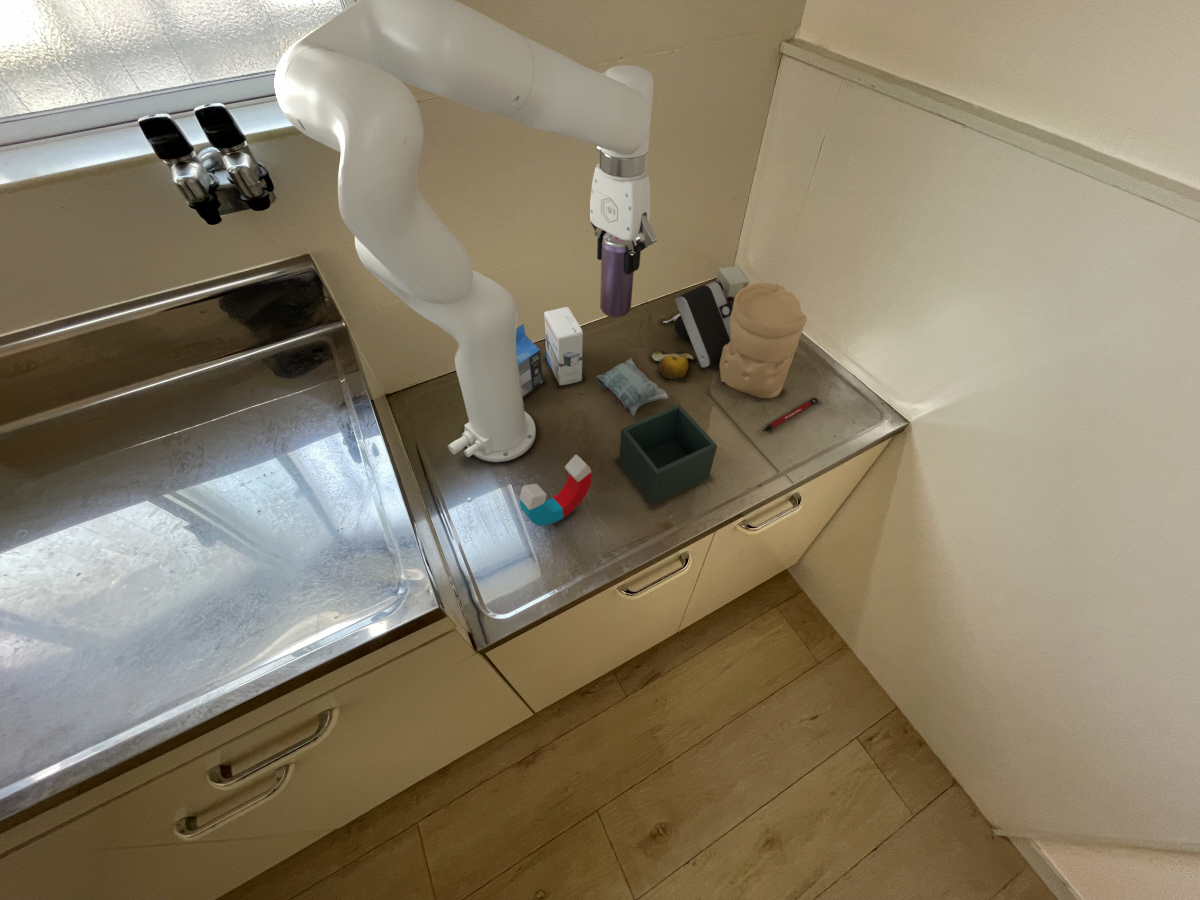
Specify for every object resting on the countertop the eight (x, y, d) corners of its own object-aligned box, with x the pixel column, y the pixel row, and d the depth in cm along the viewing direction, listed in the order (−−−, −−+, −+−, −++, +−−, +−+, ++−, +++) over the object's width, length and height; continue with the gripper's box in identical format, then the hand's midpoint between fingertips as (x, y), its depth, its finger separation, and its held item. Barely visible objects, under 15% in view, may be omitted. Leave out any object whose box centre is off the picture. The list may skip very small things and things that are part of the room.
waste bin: (652, 506, 92) (656, 473, 85) (619, 462, 97) (620, 428, 91) (708, 478, 95) (717, 445, 89) (673, 437, 101) (679, 403, 94)
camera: (685, 370, 119) (721, 352, 122) (713, 365, 109) (752, 345, 112) (658, 304, 116) (697, 287, 119) (685, 293, 106) (726, 274, 109)
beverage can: (627, 320, 108) (633, 248, 96) (597, 316, 108) (599, 243, 97) (632, 302, 112) (638, 231, 100) (603, 298, 112) (605, 226, 101)
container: (762, 354, 115) (785, 277, 101) (794, 396, 108) (823, 319, 94) (705, 367, 113) (721, 290, 99) (734, 411, 105) (756, 334, 91)
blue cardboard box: (510, 407, 105) (502, 357, 96) (496, 398, 107) (486, 347, 97) (543, 382, 110) (539, 331, 100) (529, 373, 111) (523, 322, 102)
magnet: (533, 538, 88) (527, 501, 80) (523, 526, 89) (516, 489, 81) (592, 499, 92) (592, 461, 85) (582, 488, 94) (581, 450, 86)
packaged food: (631, 368, 112) (632, 349, 109) (667, 404, 106) (670, 385, 102) (594, 385, 109) (594, 366, 106) (630, 423, 103) (631, 405, 99)
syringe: (660, 326, 122) (666, 326, 120) (658, 317, 121) (664, 317, 119) (693, 310, 126) (699, 310, 124) (691, 301, 125) (698, 301, 123)
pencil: (760, 431, 102) (761, 428, 101) (813, 400, 107) (814, 396, 106) (763, 434, 101) (765, 431, 101) (816, 403, 107) (818, 399, 106)
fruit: (692, 354, 115) (694, 340, 112) (694, 382, 110) (697, 368, 107) (651, 353, 115) (652, 339, 113) (652, 381, 110) (653, 367, 107)
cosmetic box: (738, 332, 120) (751, 282, 110) (719, 335, 119) (730, 285, 109) (727, 314, 124) (738, 264, 114) (708, 317, 123) (718, 267, 113)
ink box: (545, 359, 114) (542, 310, 105) (569, 353, 115) (567, 304, 106) (560, 387, 109) (557, 338, 100) (584, 380, 110) (583, 332, 101)
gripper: (567, 151, 91) (569, 253, 105) (650, 186, 83) (640, 292, 97) (599, 138, 94) (597, 239, 108) (681, 171, 87) (667, 275, 101)
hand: (617, 263), depth 102 cm, fingers closed on beverage can, 6 cm apart
